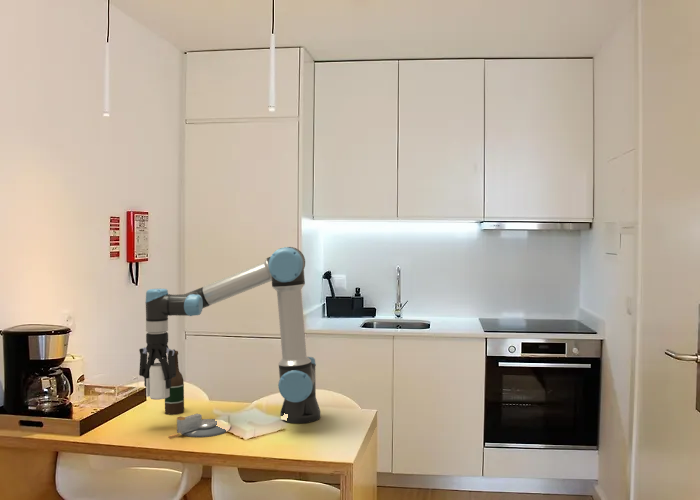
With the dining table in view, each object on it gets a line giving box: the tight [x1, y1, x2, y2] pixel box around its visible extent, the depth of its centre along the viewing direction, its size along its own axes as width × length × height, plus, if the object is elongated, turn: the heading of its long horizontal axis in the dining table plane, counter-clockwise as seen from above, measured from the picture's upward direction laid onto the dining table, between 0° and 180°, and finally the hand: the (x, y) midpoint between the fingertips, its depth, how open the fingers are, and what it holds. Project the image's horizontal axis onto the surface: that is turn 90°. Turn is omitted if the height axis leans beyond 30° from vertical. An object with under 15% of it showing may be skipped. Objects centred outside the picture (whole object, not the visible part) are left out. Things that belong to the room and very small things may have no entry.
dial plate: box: [181, 418, 227, 438], centre depth 223 cm, size 18×18×1 cm
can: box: [149, 362, 165, 400], centre depth 223 cm, size 6×6×12 cm
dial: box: [176, 413, 217, 435], centre depth 220 cm, size 15×8×5 cm, turn 141°
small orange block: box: [168, 433, 179, 440], centre depth 214 cm, size 3×1×1 cm, turn 134°
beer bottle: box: [164, 350, 185, 416], centre depth 244 cm, size 8×8×24 cm
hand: (157, 396), depth 223 cm, fingers closed on can, 6 cm apart
